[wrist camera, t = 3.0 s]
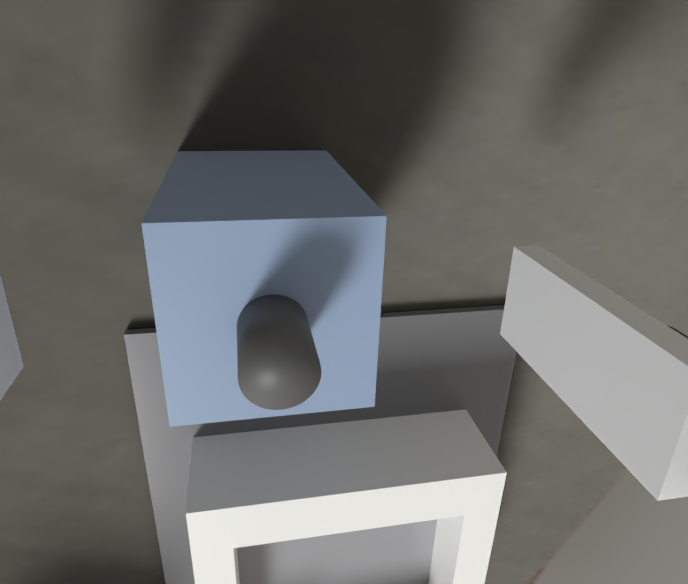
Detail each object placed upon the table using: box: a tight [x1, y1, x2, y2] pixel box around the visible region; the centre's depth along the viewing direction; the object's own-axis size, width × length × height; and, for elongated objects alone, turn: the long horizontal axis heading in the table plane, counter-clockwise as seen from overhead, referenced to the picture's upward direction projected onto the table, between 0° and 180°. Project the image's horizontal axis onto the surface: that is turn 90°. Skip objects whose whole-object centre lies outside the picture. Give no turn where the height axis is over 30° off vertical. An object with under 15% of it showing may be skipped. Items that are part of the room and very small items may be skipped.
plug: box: [142, 150, 387, 427], centre depth 15 cm, size 5×5×10 cm
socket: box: [124, 305, 517, 584], centre depth 23 cm, size 18×16×5 cm
